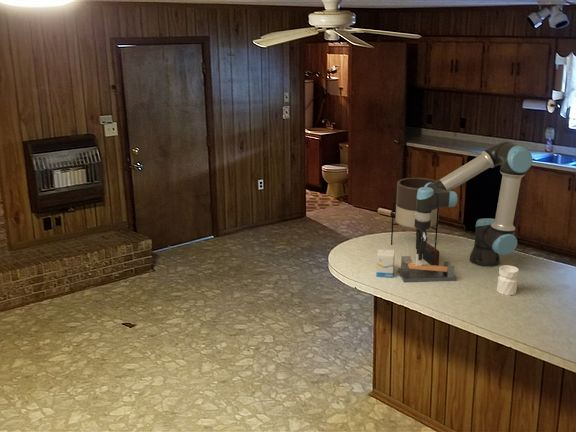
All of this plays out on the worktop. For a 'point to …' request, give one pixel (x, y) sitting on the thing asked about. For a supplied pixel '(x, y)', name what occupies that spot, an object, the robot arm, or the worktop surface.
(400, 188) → the planter
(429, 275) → the base
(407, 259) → the keeper
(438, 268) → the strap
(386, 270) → the ink box
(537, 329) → the worktop surface
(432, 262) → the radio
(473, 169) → the robot arm
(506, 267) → the vase
